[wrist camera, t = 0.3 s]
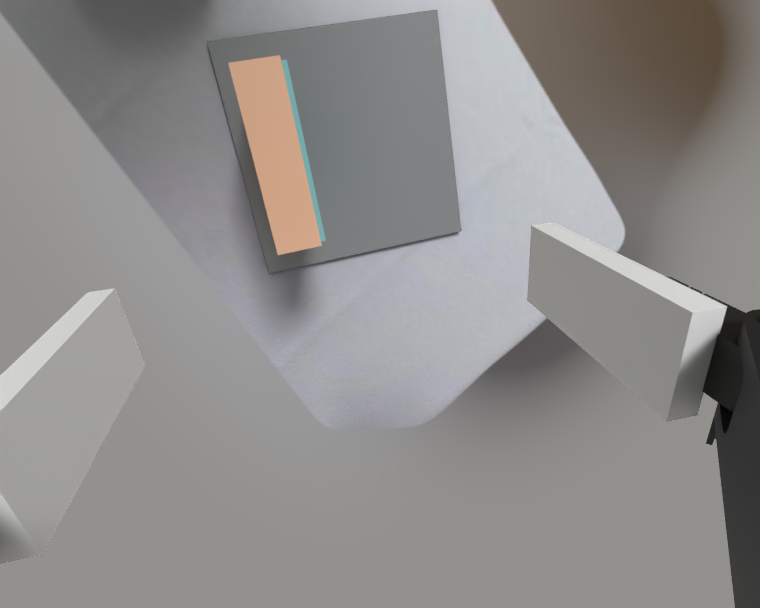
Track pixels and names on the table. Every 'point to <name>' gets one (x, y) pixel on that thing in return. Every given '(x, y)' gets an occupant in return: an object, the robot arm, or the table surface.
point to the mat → (358, 131)
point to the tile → (278, 152)
